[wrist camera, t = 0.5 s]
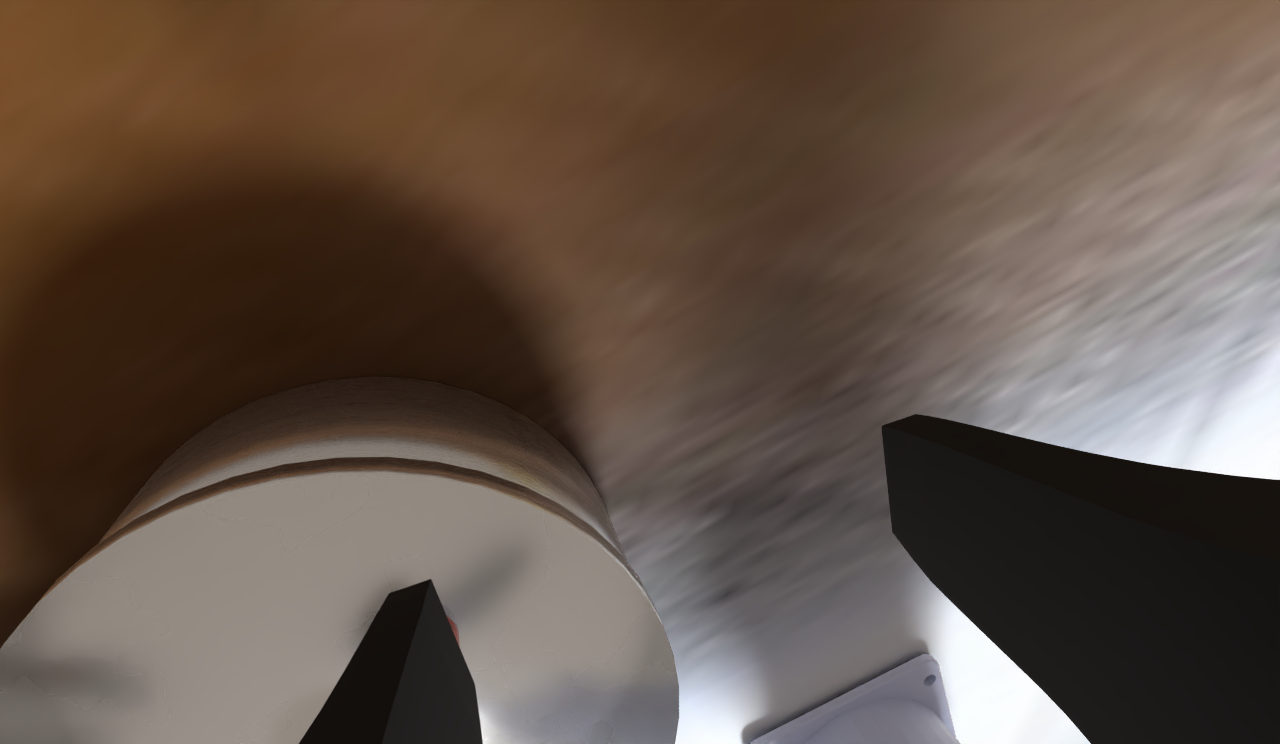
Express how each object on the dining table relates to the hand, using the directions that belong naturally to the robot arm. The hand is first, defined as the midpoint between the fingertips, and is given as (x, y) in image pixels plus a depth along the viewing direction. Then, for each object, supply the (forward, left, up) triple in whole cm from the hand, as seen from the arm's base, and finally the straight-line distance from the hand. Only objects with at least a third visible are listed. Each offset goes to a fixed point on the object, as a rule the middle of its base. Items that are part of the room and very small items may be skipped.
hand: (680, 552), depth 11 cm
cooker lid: (-7, +10, -5) cm, 13 cm away
